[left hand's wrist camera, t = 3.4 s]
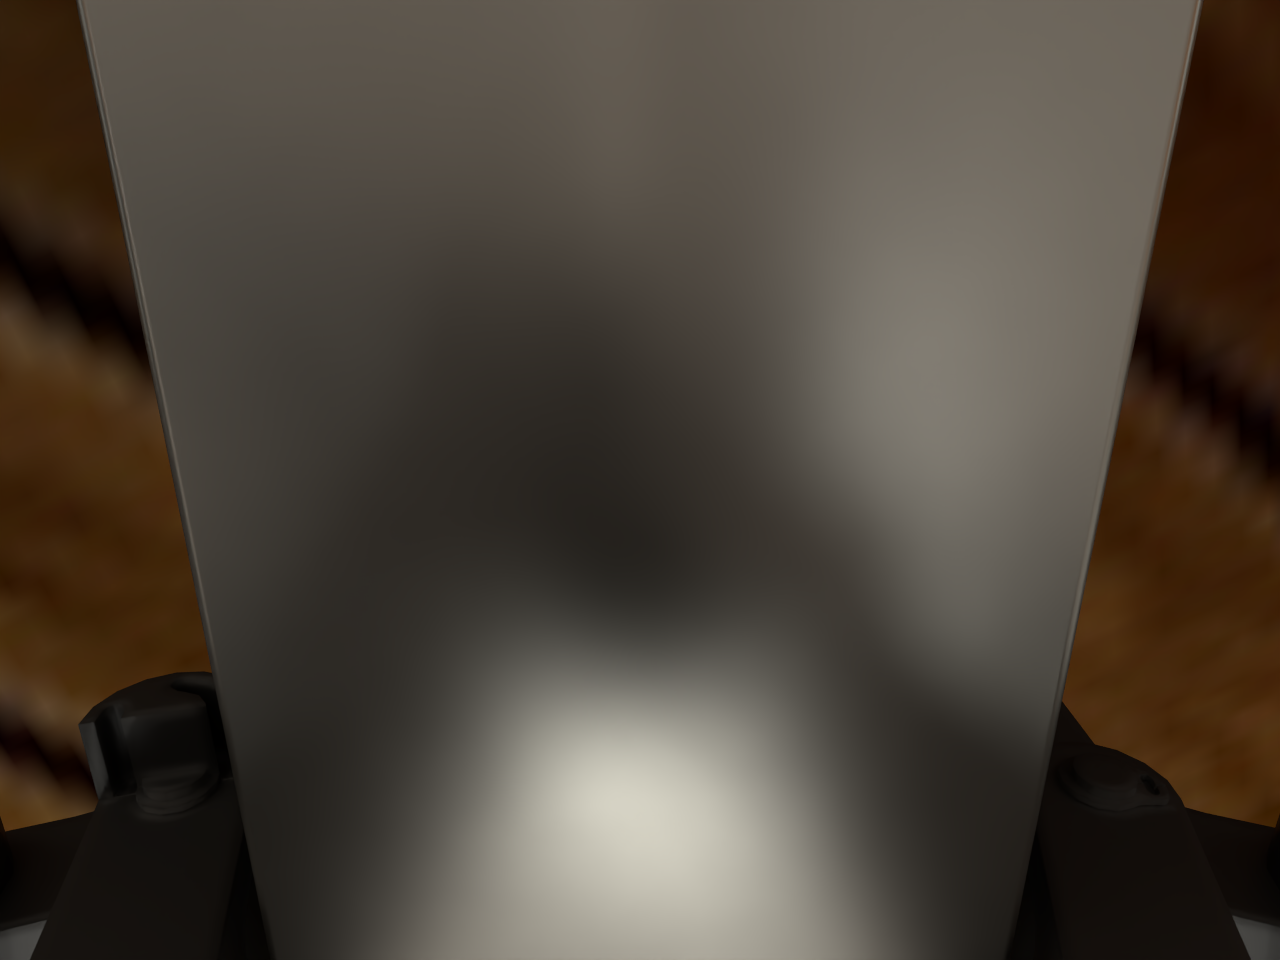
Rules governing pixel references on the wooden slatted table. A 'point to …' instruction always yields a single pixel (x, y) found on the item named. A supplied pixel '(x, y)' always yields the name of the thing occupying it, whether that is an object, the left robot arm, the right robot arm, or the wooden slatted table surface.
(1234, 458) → the wooden slatted table surface
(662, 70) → the bar
